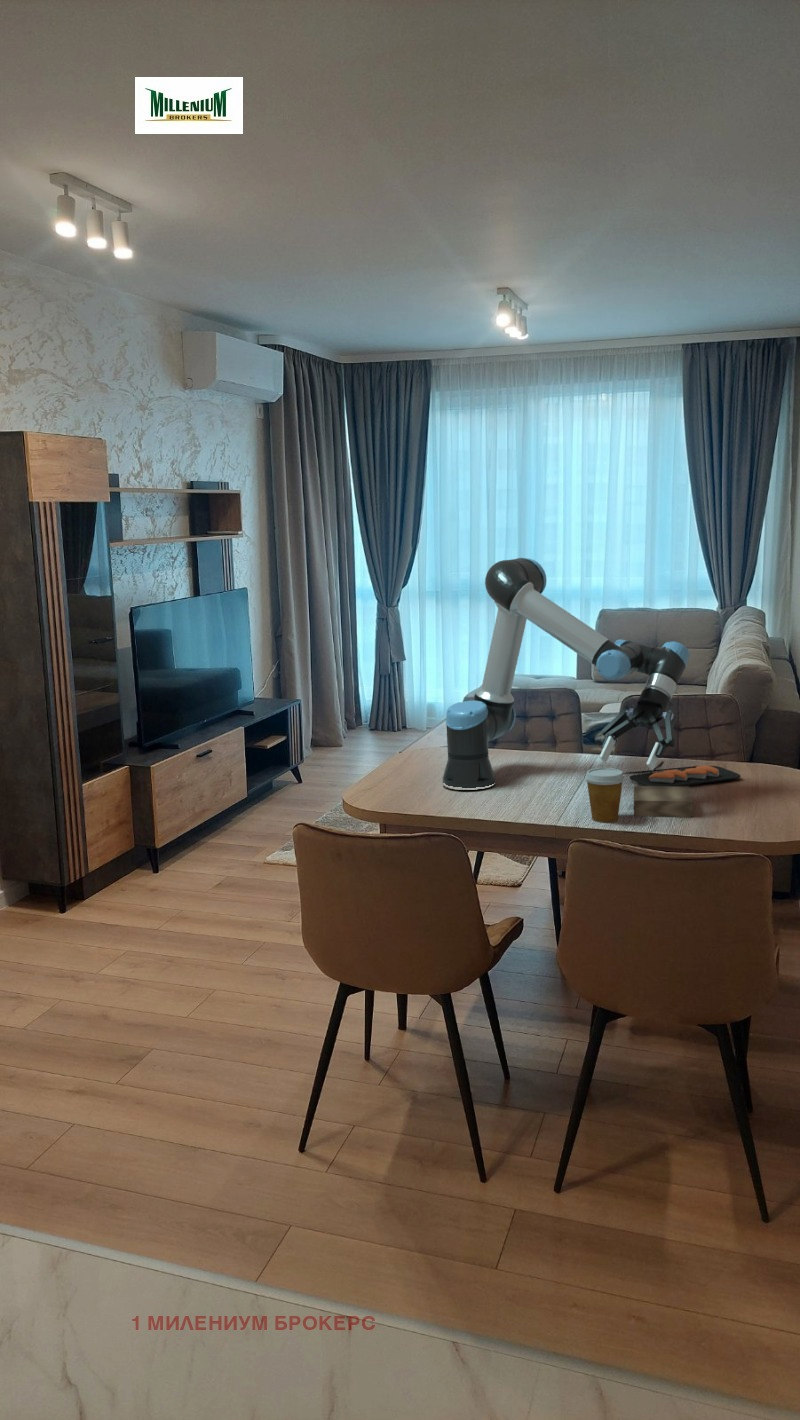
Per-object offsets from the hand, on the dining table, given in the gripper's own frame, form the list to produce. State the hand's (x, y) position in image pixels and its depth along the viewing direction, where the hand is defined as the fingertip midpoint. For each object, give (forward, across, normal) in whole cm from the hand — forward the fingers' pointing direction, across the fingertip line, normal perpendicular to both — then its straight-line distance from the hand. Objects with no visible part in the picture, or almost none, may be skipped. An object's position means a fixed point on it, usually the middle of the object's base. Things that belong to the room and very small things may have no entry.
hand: (625, 763), depth 249 cm
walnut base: (+4, -6, -14) cm, 16 cm away
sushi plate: (-18, +10, -37) cm, 43 cm away
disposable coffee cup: (+15, +1, -3) cm, 15 cm away
